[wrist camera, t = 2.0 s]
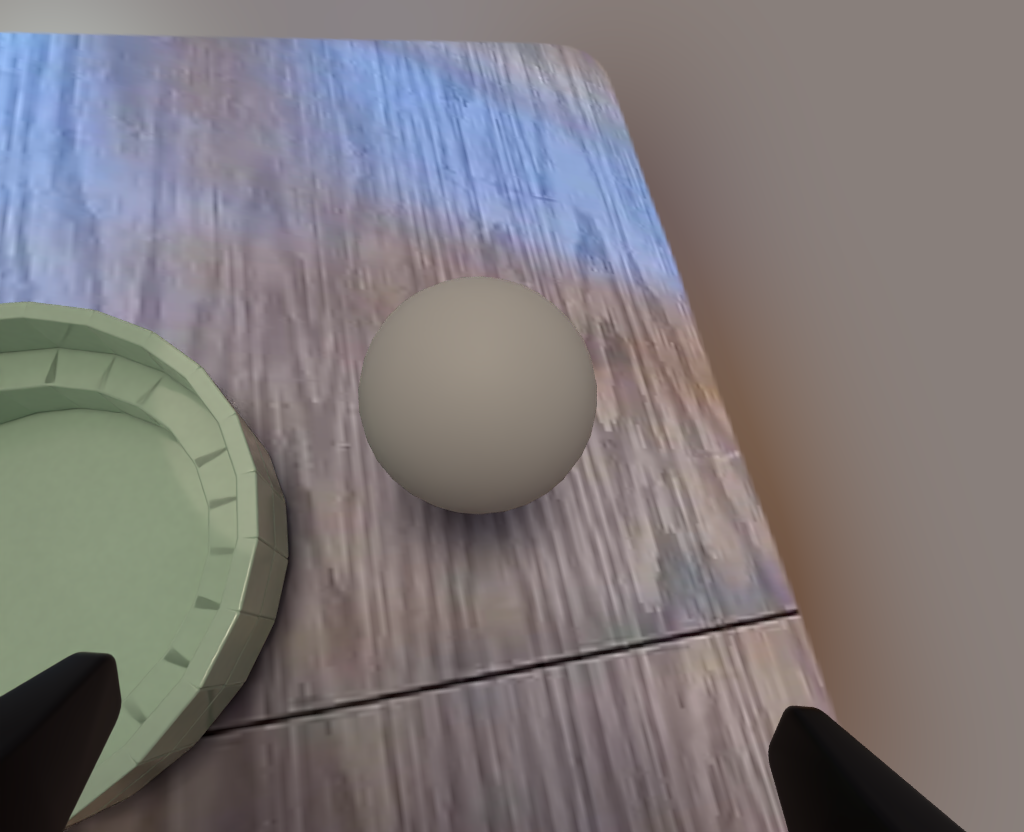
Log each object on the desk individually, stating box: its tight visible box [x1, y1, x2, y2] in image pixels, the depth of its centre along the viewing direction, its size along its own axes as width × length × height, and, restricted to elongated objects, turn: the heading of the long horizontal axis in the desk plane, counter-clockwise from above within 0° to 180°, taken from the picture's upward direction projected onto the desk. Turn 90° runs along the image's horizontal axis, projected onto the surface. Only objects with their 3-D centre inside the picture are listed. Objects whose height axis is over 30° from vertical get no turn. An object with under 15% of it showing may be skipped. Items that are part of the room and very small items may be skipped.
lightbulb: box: [358, 277, 597, 514], centre depth 17 cm, size 6×6×11 cm
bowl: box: [0, 302, 288, 830], centre depth 17 cm, size 15×15×4 cm
